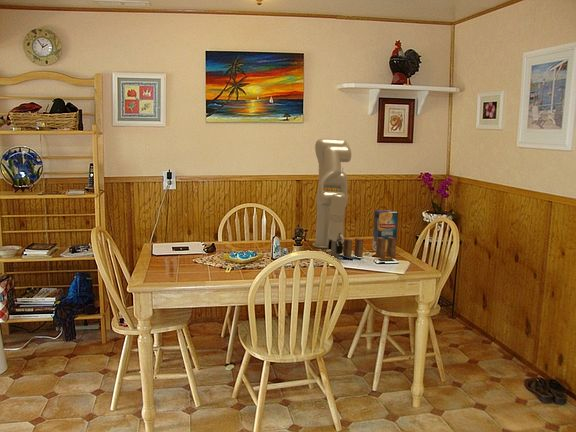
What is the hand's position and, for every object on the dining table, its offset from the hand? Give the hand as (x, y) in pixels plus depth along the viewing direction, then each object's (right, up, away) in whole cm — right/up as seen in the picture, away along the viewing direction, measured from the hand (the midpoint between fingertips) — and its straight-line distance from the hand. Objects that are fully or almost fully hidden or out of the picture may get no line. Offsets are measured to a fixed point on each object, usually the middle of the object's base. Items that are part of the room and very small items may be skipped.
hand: (335, 251), depth 283 cm
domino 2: (+6, -4, +3) cm, 8 cm away
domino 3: (+12, -4, +6) cm, 14 cm away
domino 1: (0, -4, +1) cm, 4 cm away
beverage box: (+29, -1, +25) cm, 39 cm away
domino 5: (+31, -3, +12) cm, 33 cm away
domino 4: (+25, -4, +10) cm, 27 cm away
